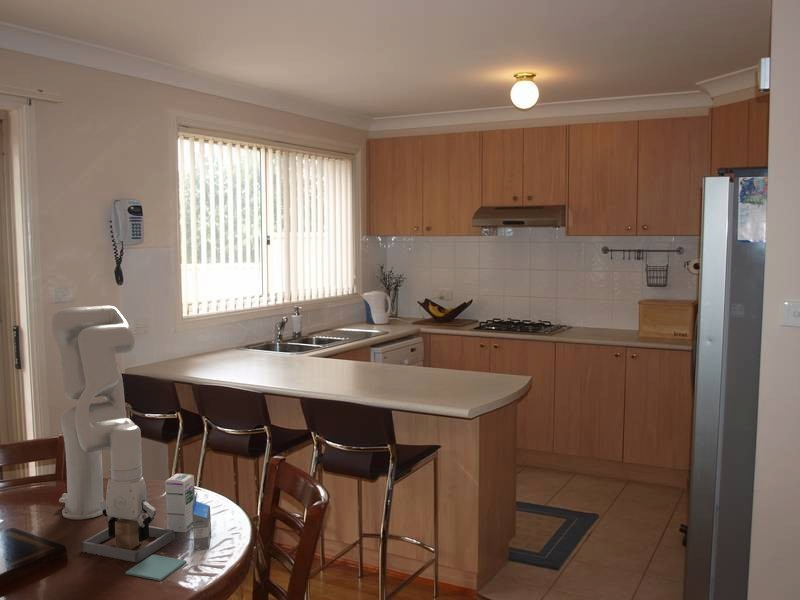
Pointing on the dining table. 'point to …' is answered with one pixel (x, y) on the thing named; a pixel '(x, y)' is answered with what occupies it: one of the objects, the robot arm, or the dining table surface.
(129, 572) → the mat
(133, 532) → the wooden block
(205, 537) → the label tape box
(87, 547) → the grey rectangular frame
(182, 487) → the syrup box
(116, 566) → the dining table surface
